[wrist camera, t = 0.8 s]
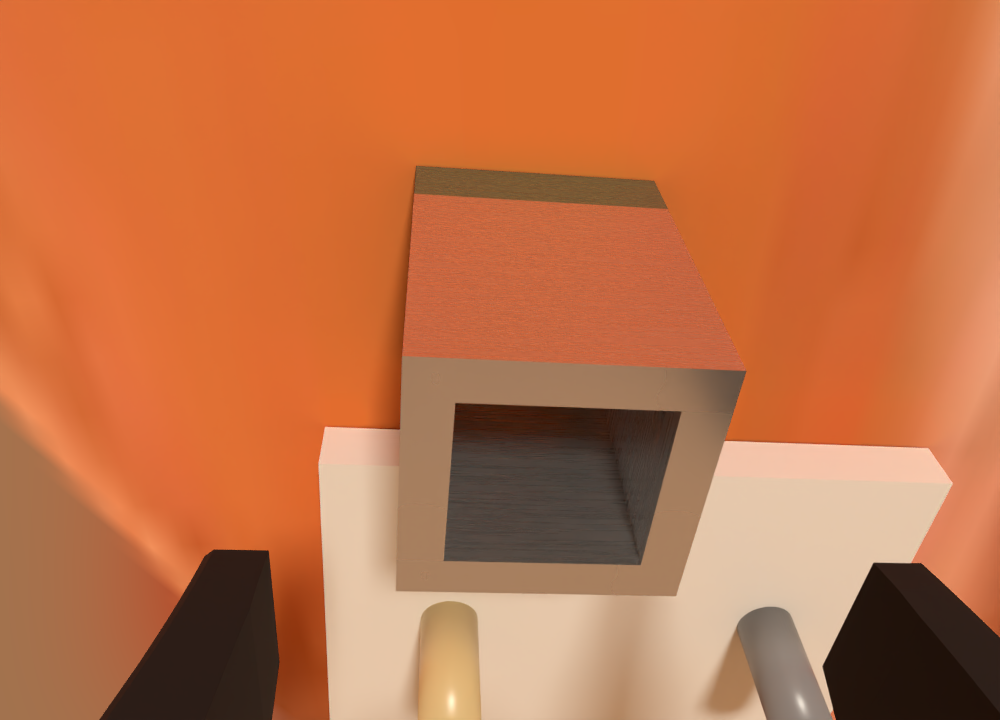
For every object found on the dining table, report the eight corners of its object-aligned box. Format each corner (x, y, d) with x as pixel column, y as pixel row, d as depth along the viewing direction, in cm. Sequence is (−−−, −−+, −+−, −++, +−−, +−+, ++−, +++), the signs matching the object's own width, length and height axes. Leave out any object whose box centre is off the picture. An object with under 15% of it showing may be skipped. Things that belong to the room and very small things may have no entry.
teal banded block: (654, 181, 16) (746, 370, 11) (615, 372, 18) (676, 596, 14) (415, 165, 16) (401, 355, 11) (409, 363, 18) (396, 591, 13)
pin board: (928, 448, 20) (1027, 590, 17) (804, 698, 26) (859, 842, 22) (325, 427, 19) (298, 576, 15) (335, 695, 25) (317, 848, 21)
